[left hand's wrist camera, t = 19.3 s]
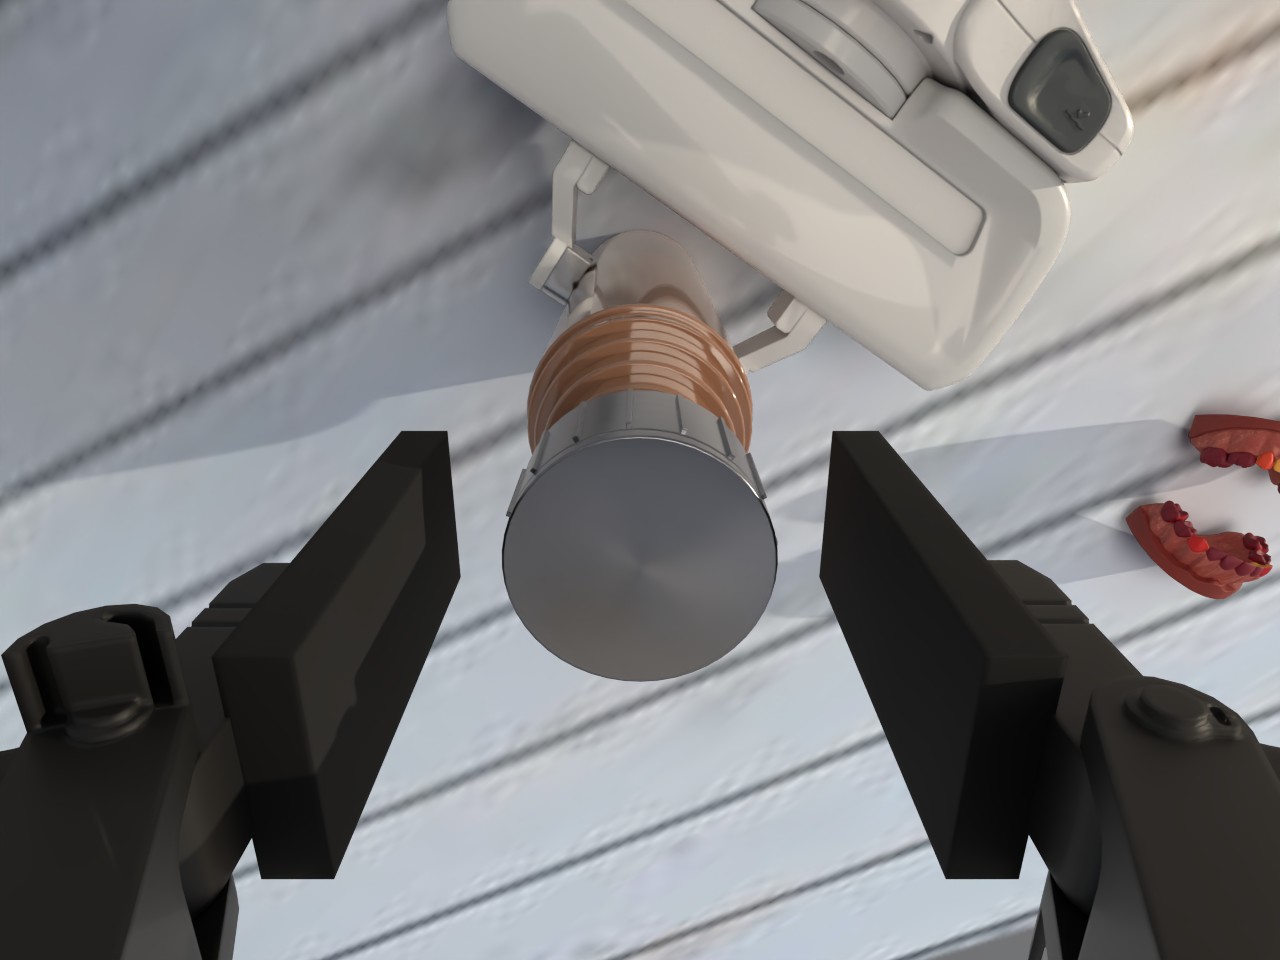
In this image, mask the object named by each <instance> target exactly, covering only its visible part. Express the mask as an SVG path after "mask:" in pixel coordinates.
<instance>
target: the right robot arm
mask: <svg viewBox="0 0 1280 960" xmlns="http://www.w3.org/2000/svg"><path fill="white" fill-rule="evenodd" d="M446 14H447V24H448V31H449V36H450V41H451V46H452V50H453V52H454V53H455V55H456V56H457V57H459V58H460V59H462V60H463V61H464V62H466V63H467V64H468V65H470V66H471V67H473V68H474V69H475V70H477V71H478V72H480V73H481V74H482V75H484V76H485V77H487V78H488V79H489V80H491V81H492V82H494V83H495V84H496V85H498V86H499V87H501V88H502V89H503V90H505V91H506V92H508V93H509V94H510V95H512V96H513V97H515V98H516V99H517V100H519V101H520V102H522V103H523V104H524V105H526V106H527V107H529V108H530V109H531V110H533V111H534V112H536V113H537V114H538V115H540V116H541V117H543V118H544V119H545V120H547V121H548V122H550V123H551V124H552V125H554V126H555V127H557V128H558V129H559V130H561V131H562V132H564V133H565V134H566V135H568V136H569V137H571V138H572V141H571V143H570V144H569V146H568V148H567V149H566V151H565V153H564V154H563V156H562V158H561V159H560V161H559V163H558V164H557V166H556V168H555V170H554V171H553V193H552V229H551V235H552V236H553V237H554V239H553V241H552V243H551V244H550V246H549V247H548V249H547V251H546V252H545V254H544V256H543V257H542V259H541V261H540V262H539V264H538V265H537V267H536V269H535V270H534V272H533V274H532V275H531V277H530V279H529V281H528V283H530V284H531V285H532V286H534V287H535V288H537V289H538V290H541V291H542V292H543V293H545V294H546V295H548V296H549V297H551V298H553V299H554V300H556V301H557V302H559V303H560V304H562V305H564V306H565V304H566V303H567V301H568V300H569V298H570V296H571V294H572V292H573V290H574V288H575V286H576V283H577V282H578V281H579V280H580V279H581V278H582V277H583V276H584V274H585V273H586V271H587V270H588V268H589V267H590V265H591V263H592V261H593V258H594V257H593V256H591V255H590V254H589V253H587V252H586V251H584V250H583V249H582V248H580V247H579V246H577V245H576V244H575V239H576V219H577V200H578V189H579V190H581V191H582V192H584V193H585V194H587V195H589V194H592V193H593V192H594V191H595V190H596V189H597V187H598V185H599V184H600V182H601V181H602V179H603V178H604V176H605V174H606V173H607V171H608V170H609V168H610V167H613V168H614V169H616V170H617V171H618V172H620V173H621V174H623V175H624V176H625V177H627V178H628V179H630V180H631V181H632V182H634V183H635V184H637V185H638V186H639V187H641V188H642V189H644V190H645V191H646V192H648V193H649V194H651V195H652V196H653V197H655V198H656V199H658V200H659V201H660V202H662V203H663V204H665V205H666V206H667V207H669V208H670V209H672V210H673V211H674V212H676V213H677V214H679V215H680V216H681V217H683V218H684V219H686V220H687V221H688V222H690V223H691V224H693V225H694V226H695V227H697V228H698V229H700V230H701V231H702V232H704V233H705V234H707V235H708V236H709V237H711V238H712V239H714V240H715V241H716V242H718V243H719V244H721V245H722V246H723V247H725V248H726V249H728V250H729V251H730V252H732V253H733V254H735V255H736V256H737V257H739V258H740V259H742V260H743V261H744V262H746V263H747V264H749V265H750V266H751V267H753V268H754V269H756V270H757V271H758V272H760V273H761V274H763V275H764V276H765V277H767V278H768V279H770V280H771V281H772V282H774V283H775V284H777V285H778V286H779V287H781V288H782V289H783V290H782V292H781V293H780V295H779V296H778V297H777V299H776V300H775V302H774V303H773V305H772V306H771V307H770V309H769V310H768V312H767V314H768V317H769V318H770V320H771V321H772V322H773V323H774V325H775V326H774V327H772V328H770V329H768V330H766V331H764V332H761V333H759V334H757V335H755V336H753V337H751V338H749V339H747V340H745V341H743V342H741V343H739V344H737V345H735V346H733V348H734V350H735V352H736V354H737V356H738V358H739V361H740V363H741V365H742V367H743V369H744V372H745V374H746V375H747V374H748V372H749V371H751V372H755V371H757V370H759V369H762V368H764V367H766V366H768V365H771V364H773V363H775V362H777V361H780V360H782V359H784V358H786V357H789V356H791V355H793V354H795V353H798V352H800V351H802V350H804V349H806V348H807V346H808V345H809V344H810V342H811V341H812V340H813V338H814V337H815V336H816V335H817V333H818V332H819V331H820V329H821V328H822V327H823V325H824V324H825V323H826V321H829V322H830V323H831V324H833V325H834V326H836V327H837V328H838V329H840V330H841V331H843V332H844V333H845V334H847V335H848V336H850V337H851V338H852V339H854V340H855V341H857V342H858V343H859V344H861V345H862V346H864V347H865V348H866V349H868V350H869V351H871V352H872V353H873V354H875V355H876V356H878V357H879V358H880V359H882V360H883V361H885V362H886V363H887V364H889V365H890V366H892V367H893V368H894V369H896V370H897V371H899V372H900V373H901V374H903V375H904V376H906V377H907V378H908V379H910V380H911V381H913V382H914V383H915V384H917V385H918V386H920V387H921V388H923V389H924V390H927V391H931V390H936V389H940V388H943V387H946V386H949V385H952V384H955V383H958V382H961V381H963V380H964V379H966V378H967V377H968V376H970V375H971V374H972V373H973V372H974V371H975V370H976V369H977V368H978V366H979V365H980V364H981V363H982V362H983V361H984V360H985V358H986V357H987V356H988V355H989V354H990V352H991V351H992V350H993V349H994V347H995V346H996V345H997V344H998V342H999V341H1000V340H1001V339H1002V337H1003V336H1004V335H1005V333H1006V332H1007V331H1008V329H1009V328H1010V327H1011V325H1012V324H1013V323H1014V321H1015V320H1016V319H1017V317H1018V316H1019V315H1020V313H1021V312H1022V310H1023V309H1024V308H1025V306H1026V305H1027V303H1028V302H1029V300H1030V299H1031V298H1032V296H1033V295H1034V293H1035V292H1036V290H1037V289H1038V287H1039V286H1040V284H1041V283H1042V281H1043V280H1044V278H1045V277H1046V275H1047V273H1048V272H1049V270H1050V269H1051V267H1052V266H1053V264H1054V262H1055V260H1056V259H1057V257H1058V255H1059V253H1060V251H1061V249H1062V246H1063V244H1064V242H1065V239H1066V236H1067V233H1068V229H1069V224H1070V216H1071V207H1070V200H1069V196H1068V193H1067V190H1066V188H1065V186H1064V184H1063V183H1078V182H1087V181H1092V180H1095V179H1097V178H1099V177H1100V176H1102V175H1103V174H1104V173H1106V172H1107V171H1108V170H1109V169H1110V168H1111V167H1112V166H1113V165H1114V164H1115V162H1116V161H1117V160H1118V159H1119V158H1120V156H1121V155H1122V154H1123V153H1124V151H1125V150H1126V149H1127V147H1128V146H1129V144H1130V142H1131V140H1132V137H1133V133H1134V124H1133V119H1132V116H1131V113H1130V110H1129V108H1128V106H1127V104H1126V102H1125V100H1124V98H1123V96H1122V94H1121V92H1120V91H1119V89H1118V87H1117V85H1116V83H1115V81H1114V79H1113V77H1112V76H1111V74H1110V72H1109V70H1108V68H1107V66H1106V64H1105V62H1104V60H1103V58H1102V56H1101V54H1100V53H1099V51H1098V49H1097V47H1096V45H1095V43H1094V41H1093V39H1092V37H1091V35H1090V33H1089V31H1088V28H1087V26H1086V24H1085V22H1084V20H1083V18H1082V16H1081V14H1080V11H1079V9H1078V7H1077V5H1076V3H1075V0H449V2H448V5H447V10H446Z"/></svg>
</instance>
